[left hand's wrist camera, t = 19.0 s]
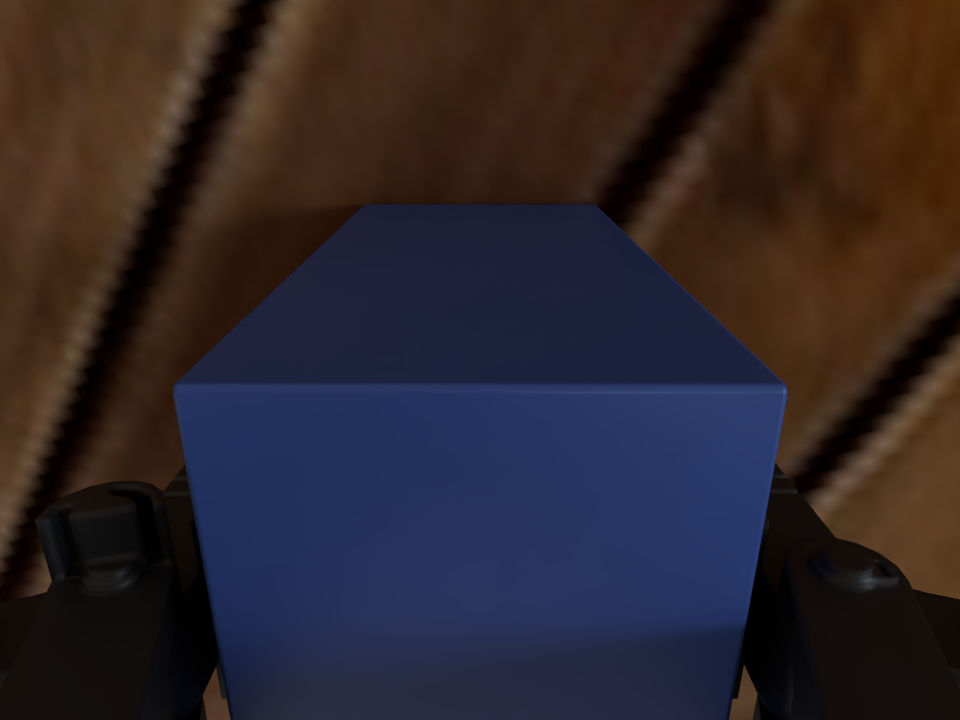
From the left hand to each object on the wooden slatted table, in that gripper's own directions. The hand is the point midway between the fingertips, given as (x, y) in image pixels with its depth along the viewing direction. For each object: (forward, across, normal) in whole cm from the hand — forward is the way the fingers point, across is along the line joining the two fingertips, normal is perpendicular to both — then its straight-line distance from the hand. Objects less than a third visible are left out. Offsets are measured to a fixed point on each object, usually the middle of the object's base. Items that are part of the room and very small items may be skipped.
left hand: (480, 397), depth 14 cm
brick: (+2, 0, 0) cm, 2 cm away
